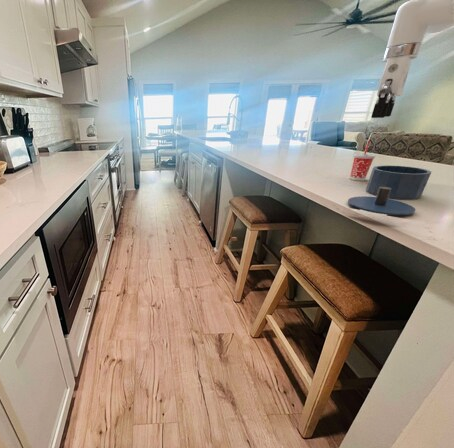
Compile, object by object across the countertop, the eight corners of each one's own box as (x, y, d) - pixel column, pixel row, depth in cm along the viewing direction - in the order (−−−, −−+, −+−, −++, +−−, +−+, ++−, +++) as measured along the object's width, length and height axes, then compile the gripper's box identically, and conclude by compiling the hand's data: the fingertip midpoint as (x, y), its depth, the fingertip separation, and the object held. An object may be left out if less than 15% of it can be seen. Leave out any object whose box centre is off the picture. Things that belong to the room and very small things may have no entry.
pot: (423, 193, 75) (433, 168, 71) (417, 202, 67) (428, 176, 64) (371, 185, 83) (378, 164, 80) (361, 193, 76) (368, 170, 73)
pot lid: (417, 207, 64) (426, 187, 62) (409, 222, 56) (418, 199, 54) (354, 197, 74) (360, 179, 72) (340, 208, 66) (346, 188, 64)
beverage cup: (343, 177, 95) (353, 140, 89) (358, 176, 95) (369, 139, 89) (356, 181, 89) (368, 141, 83) (371, 180, 89) (385, 141, 84)
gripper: (415, 47, 63) (391, 117, 70) (421, 54, 74) (400, 115, 81) (378, 53, 69) (359, 118, 76) (389, 59, 79) (371, 116, 86)
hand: (380, 117), depth 78 cm, fingers open, 9 cm apart
